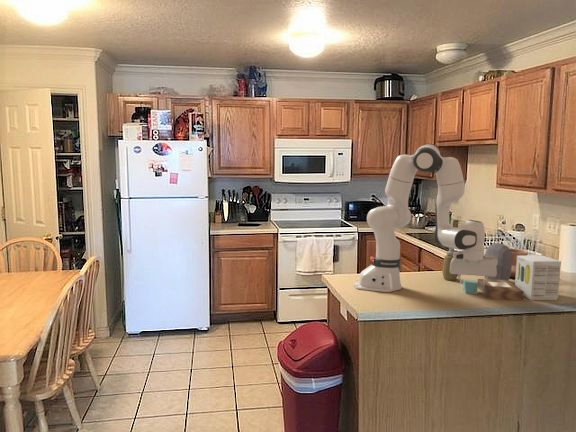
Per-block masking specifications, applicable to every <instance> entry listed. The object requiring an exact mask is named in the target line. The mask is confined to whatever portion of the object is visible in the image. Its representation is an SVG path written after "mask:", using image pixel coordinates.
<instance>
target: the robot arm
mask: <svg viewBox="0 0 576 432" xmlns="http://www.w3.org/2000/svg"><path fill="white" fill-rule="evenodd" d="M418 171H419V172H422V173H423V172H424V173H431V174H434V175H435V178H436V183H437V195H436V196H435V197H436V198H435V205H434V206H435V230H434V240H435V243H436V244H437V246H439V247H442V248H448V249H450V248H453V249H454V250H455V249H456V250H458V251H454V253H453V259H452V260H451V264H450V273H451V274H458V276H457V278H458V280H459V284H460V285H463V282H464V279H462V278H461V277H462V275H464V276H475V277H476V276H477V277H484V278H483V279H484V281H481V286H485V282H486V281H487V279H488V276H489V277H495V276H496V275H497V269H496V266H497V265H498V259H497V258H496V257H494V256H485V247H484V243H485V239H486V238H485V234H486V231H485V229H486V228H485V225H484V222H482V221H479V220H473V219H466V221H465V222H464V223H463V224H462V225H460V226H458V227H456V226H454V227H453V226H452V225H451V224H450V207H451V205H452V204H453V203H456V202H458V201H459V200H460V199H461V198H463V196H464V194H465V189H466V188H465V187H466V186H465V181H464V174H463V171H462V167H461V164H460V162H459V160H458V159H457V158H455V157H452V156H446V157H444V156H442V153H441V150H440V148H439V147H438V145H435V144H433V143H425V144H423V145H421V146H419V147H417V149H416V151H414V152H413V154H412V155H411V154H405V153H404V154H400V155H398V156H396V158H395V160H394V162H393V164H392V167H391V169H390V172H389V175H388V178H387V182H386V185H385V188H384V193H385V195H386V196H387V205H384V206H382V205H381V206H377V207H375V208H372V209H370V210H369V211H368V213H367V214H366V223H367V225H368V226H369V228H370V229H371V230H372V231H373V234H374V238H375V257H374V256H370V257H369V258H370V261H371V264H370V265H369V266H367V267H366V268H365V269H363V270H362V271H361V272H360V273H359V276H358V280H355V281H354V282H353V286H354V288H355V289H357V290H365V291H374V292H382V293H391V292H392V293H393V292H394V291H400V290H402V288H403V286H402V283H401V276H400V275H401V273H400V271H401V263H402V262H401V258H400V257H401V243H400V242H401V241H400V240H399V239H398V238H397V237H396V233H395V229H400V228H403V227H405V226H407V225H409V224H410V223H411V221H412V213H411V212H412V211H410V209H409V196H410V193H411V190H412V187H413V184H414V181H415V180H414V179H415V176H416V174H417V172H418ZM494 258H496V259H494Z"/></svg>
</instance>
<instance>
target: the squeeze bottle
mask: <svg viewBox="0 0 576 432" xmlns="http://www.w3.org/2000/svg"><path fill="white" fill-rule="evenodd" d="M448 249H449V250H447V251H446V255H444V259H443V263H442V264H443V265H442V269H441V272H442V276H443V279H444V280H446V281H455V280H457V278H458V274H451V273H450V264H451V260H452V259H453V253H454V252H455V249H453V248H448Z"/></svg>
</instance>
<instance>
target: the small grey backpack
mask: <svg viewBox="0 0 576 432" xmlns="http://www.w3.org/2000/svg"><path fill="white" fill-rule="evenodd" d="M484 256H494V257H496V258H497V259H498V265H497V266H496V269H497V275H496V276H495V277H489V276H488V279H494V280H509V281H510V279H511V277H510V276H511V268H512V252H511V250H510V249H509V246H507V245H505V244H503V243H501V242H494V243H491V244H490V245H489V246H488V247H486V251H485V252H484ZM496 258H494V259H496Z"/></svg>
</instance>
